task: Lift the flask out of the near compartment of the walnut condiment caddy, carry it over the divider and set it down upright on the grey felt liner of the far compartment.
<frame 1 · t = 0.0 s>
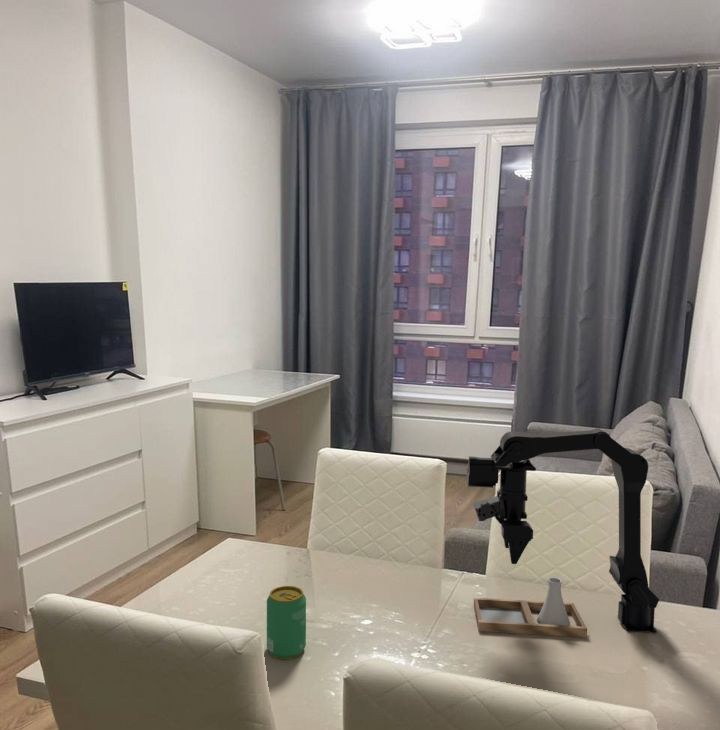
hand: (510, 555, 136), 15 cm above the table, fingers open, 9 cm apart
beverage can: (286, 650, 123), on the table
caddy: (527, 620, 136), on the table
flask: (553, 623, 135), resting in caddy
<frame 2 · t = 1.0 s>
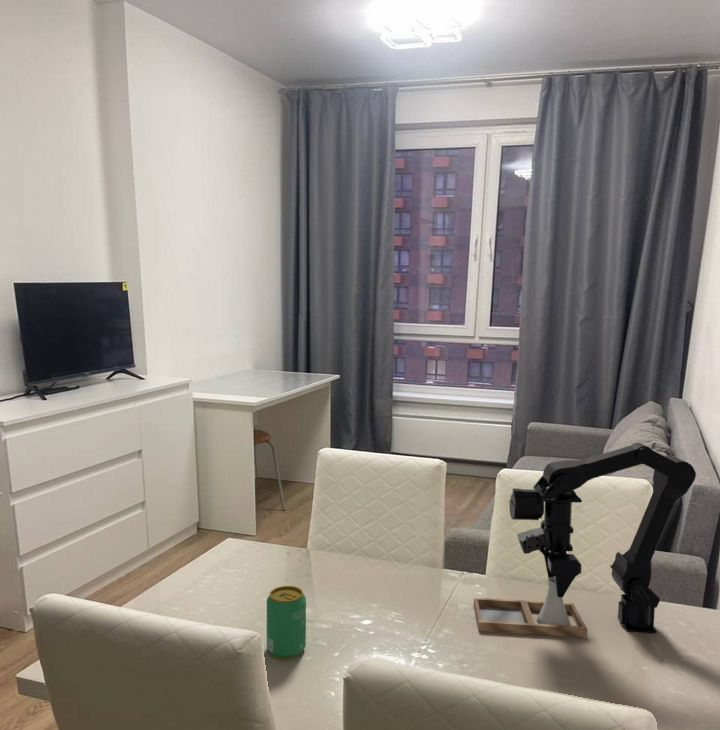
hand: (555, 587, 135), 8 cm above the table, fingers open, 9 cm apart
nothing on the table moved.
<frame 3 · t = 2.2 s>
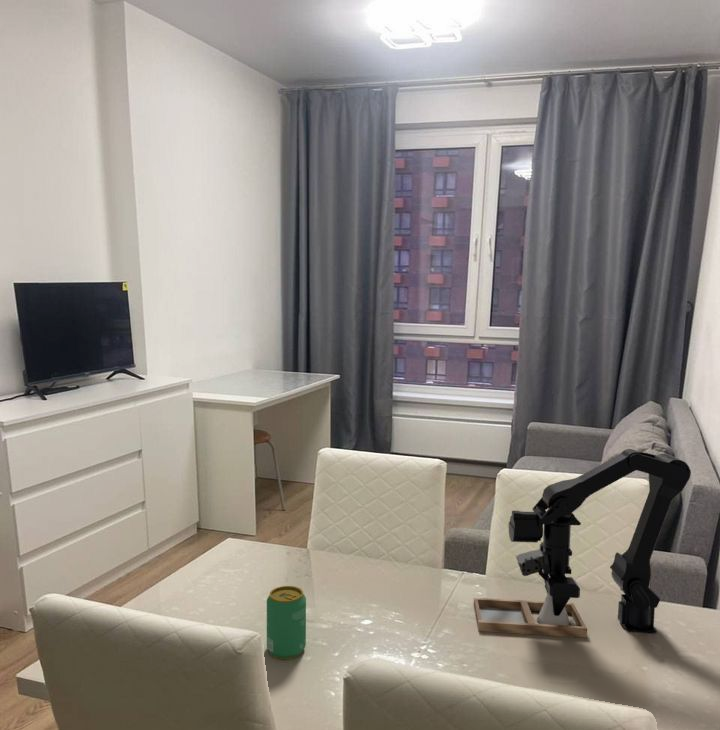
hand: (553, 609, 135), 3 cm above the table, fingers closed on flask, 5 cm apart
flask: (553, 623, 135), resting in caddy, touching gripper
everything else where it was.
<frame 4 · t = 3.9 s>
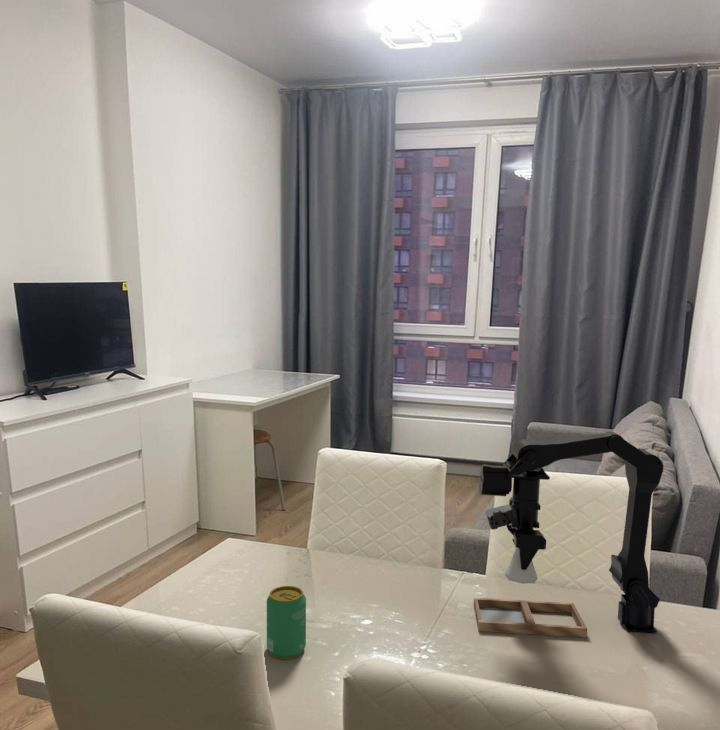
hand: (521, 564, 135), 13 cm above the table, fingers closed on flask, 5 cm apart
flask: (520, 578, 135), point 10 cm above the table, touching gripper
everything else where it was.
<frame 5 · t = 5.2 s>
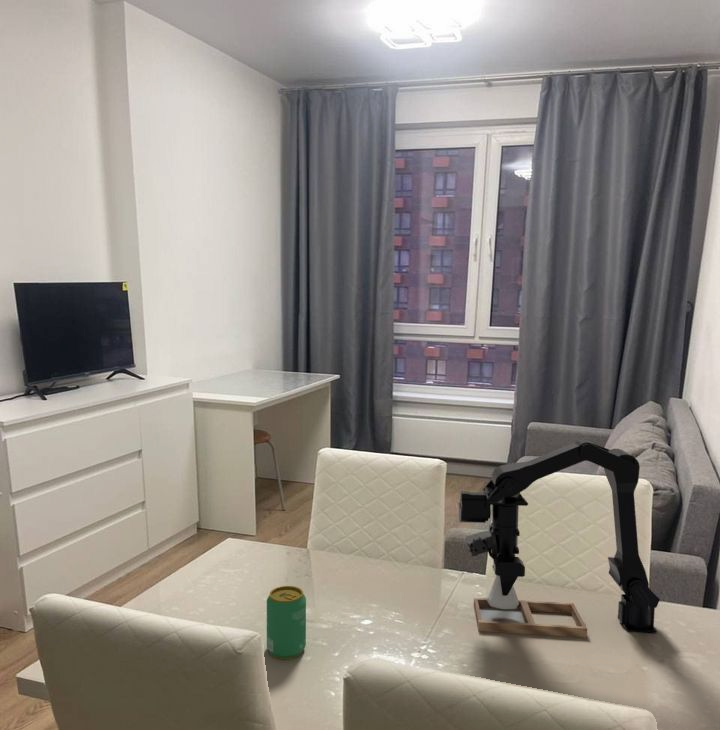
hand: (503, 589, 136), 7 cm above the table, fingers closed on flask, 5 cm apart
flask: (502, 603, 136), point 4 cm above the table, touching gripper
everything else where it was.
when the fingers open (4 cm above the table, at t = 6.1 s): flask drops 1 cm, resting on caddy.
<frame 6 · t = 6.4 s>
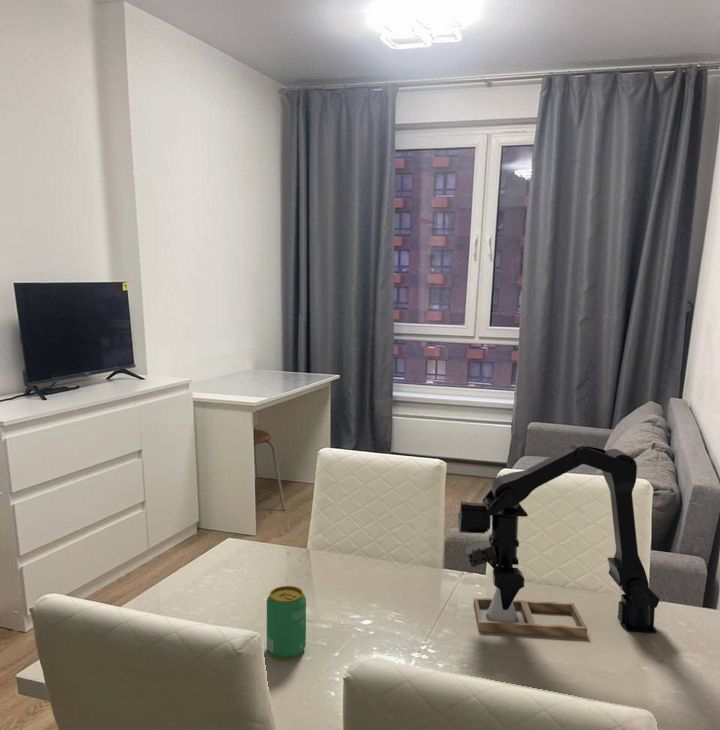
hand: (502, 600, 136), 4 cm above the table, fingers open, 8 cm apart
flask: (502, 619, 136), resting on caddy
everything else where it was.
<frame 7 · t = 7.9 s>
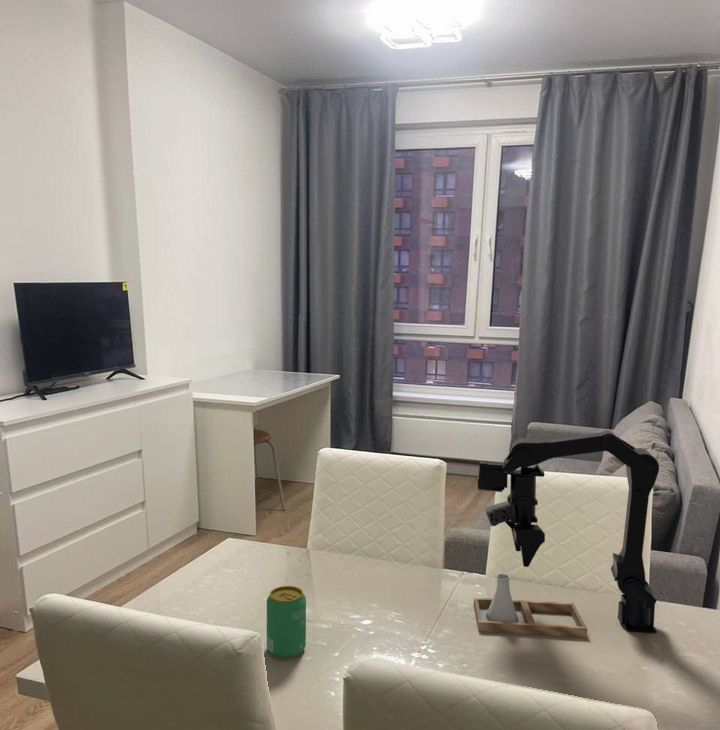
hand: (521, 558, 140), 12 cm above the table, fingers open, 9 cm apart
nothing on the table moved.
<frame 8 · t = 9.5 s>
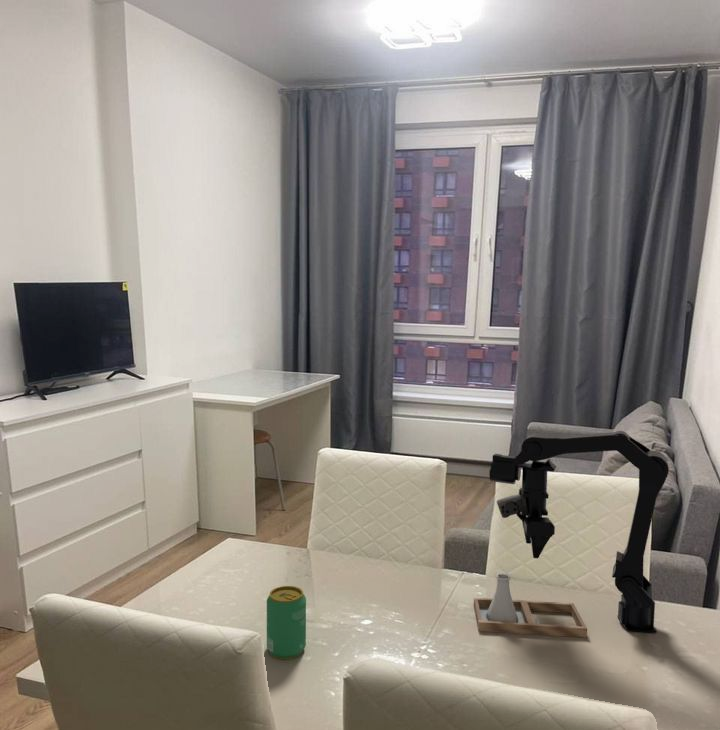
hand: (531, 550, 144), 13 cm above the table, fingers open, 9 cm apart
nothing on the table moved.
at the end: flask inside the target area on the caddy (0.3 cm from its centre), point 0.0 cm above the caddy's base; flask tilted 0°; the gripper is holding nothing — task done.
